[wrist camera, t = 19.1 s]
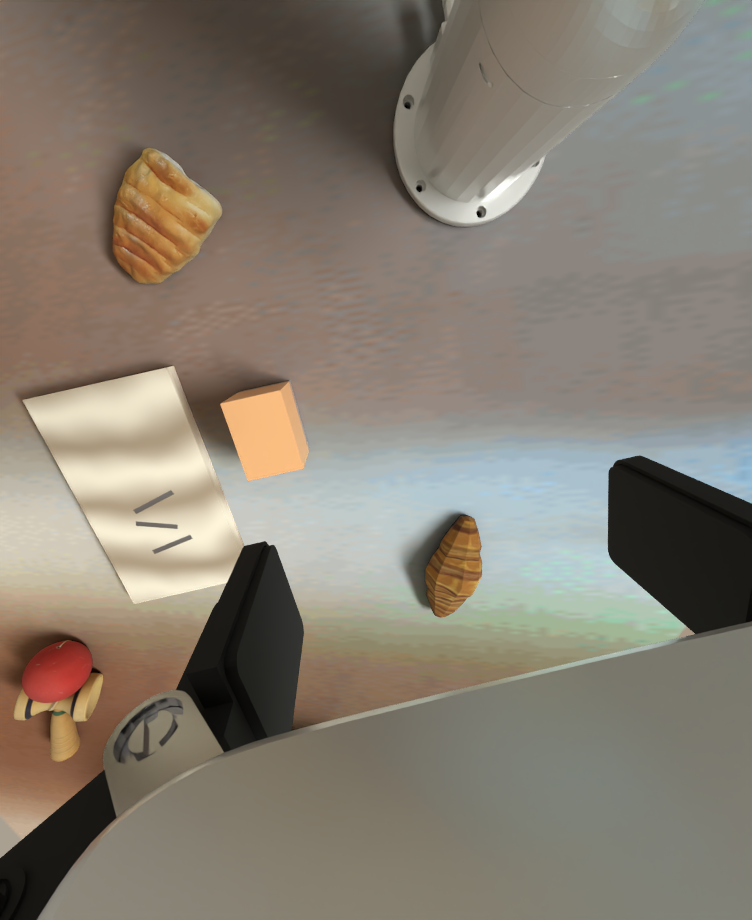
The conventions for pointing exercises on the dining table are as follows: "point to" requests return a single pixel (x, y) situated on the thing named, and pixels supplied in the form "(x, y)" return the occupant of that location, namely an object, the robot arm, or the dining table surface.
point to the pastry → (160, 218)
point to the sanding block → (267, 430)
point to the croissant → (454, 567)
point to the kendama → (60, 693)
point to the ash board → (143, 481)
